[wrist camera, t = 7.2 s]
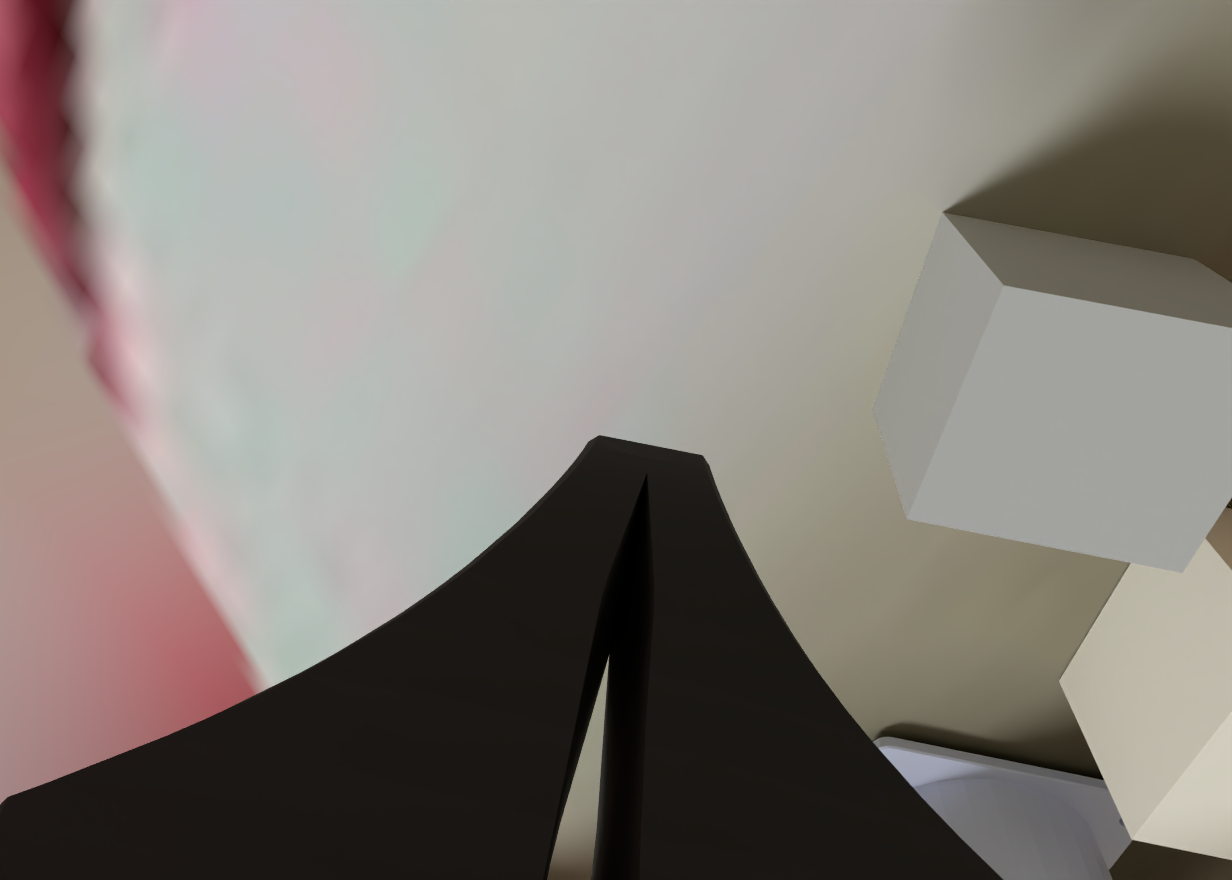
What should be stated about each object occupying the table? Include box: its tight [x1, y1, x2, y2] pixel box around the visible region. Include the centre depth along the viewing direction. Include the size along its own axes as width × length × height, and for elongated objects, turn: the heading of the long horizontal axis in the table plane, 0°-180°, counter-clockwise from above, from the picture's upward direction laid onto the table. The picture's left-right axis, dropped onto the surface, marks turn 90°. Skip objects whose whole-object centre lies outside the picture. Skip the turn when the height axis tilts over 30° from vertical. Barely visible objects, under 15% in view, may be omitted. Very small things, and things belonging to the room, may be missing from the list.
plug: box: [872, 212, 1232, 573], centre depth 16 cm, size 4×6×4 cm
